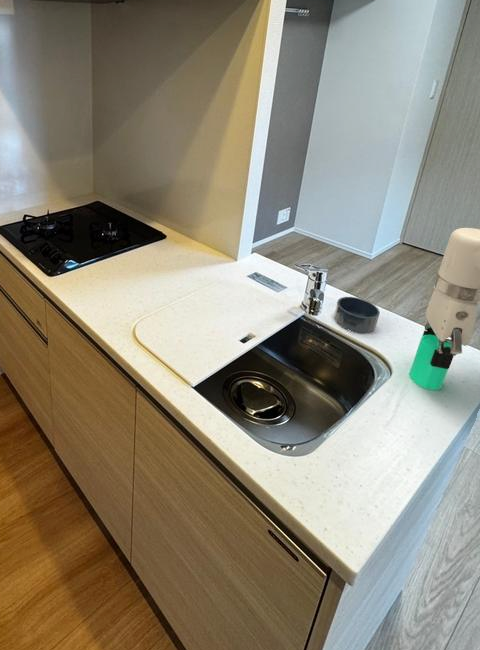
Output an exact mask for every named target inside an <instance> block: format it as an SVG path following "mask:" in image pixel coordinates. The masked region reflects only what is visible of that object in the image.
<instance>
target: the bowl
mask: <svg viewBox="0 0 480 650" xmlns="http://www.w3.org/2000/svg"><path fill="white" fill-rule="evenodd" d="M379 317H380V310H379V308H378V307H377V306H376V305H375V304H373V303H371V302H370V301H368V300H365V299H363V298H359V297H354V296H343V297H340V298H338V299H337V303H336V306H335V310H334V315H333V319H334V318H335V319H334V321H335V320H336V321H337V322H338V323H337V322H336V321H335V322H336V323H337V325H339V324H340V325H341V326H342V327H341V326H340V325H339V326H340V327H341V328H343V327H345V328H346V329H345V328H344V329H345V330H347V329H349V330H351V331H350V332H352V331H353V332H352V333H355V332H357V333H356V334H361V333H362V335H364V334H363V333H368V334H371V333H374V332H375V330H376V327H377V324H378V321H379ZM349 330H348V331H349Z"/></svg>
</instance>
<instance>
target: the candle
mask: <svg viewBox="0 0 480 650" xmlns="http://www.w3.org/2000/svg"><path fill="white" fill-rule="evenodd" d="M422 336H423V337H422ZM422 336H421V338H420V339H419V343H418V345H417V346H418V347H417V349H416V353H415V354H414V359H413V362H412V364H411V367H410V371H409V373H408V375H409V378H410V380H411V381H412V382H414V383H415V384H416V385H417V386H419V387H422V388H423V389H426V390H430V391H438V390H441V388H442V387H443V384H444V382H445V379H446V376H447V373H448V371H449V369H444V368H439V367H434V366H431V364H430V362H431V359H432V357H433V354H434V351H435V350H438V342H439V338H438V337H437V336H436V335H423V334H422ZM450 346H451V343H446V342H444V347H450Z"/></svg>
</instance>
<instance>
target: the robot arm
mask: <svg viewBox="0 0 480 650" xmlns="http://www.w3.org/2000/svg"><path fill="white" fill-rule="evenodd" d="M479 302H480V229H479V228H475V227H473V228H472V227H460V228H456V229H455V230H453V231H452V232H451V234H450V237H449V239H448V242H447V245H446V248H445V251H444V254H443V257H442V261H441V263H440V266H439V269H438V272H437V276H436V279H435V281H434V284H433V291H432V294H431V296H430V298H429V301H428V304H427V307H426V310H425V318H426V324H424V330H423V333H422V336H421V338H422V337H423V335H436V336H437V337H438V338H439V342H438V350H435V351H434V354H433V357H432V359H431V362H430V364H431V366H434V367H439V368H444V369H448V370H449V369H450V367H451V365H452V362H453V359H454V357H456V355H460V354H462V353H463V346H464V347H466V346H468V345H469V343H470V340H471V337H472V335H473V331H474V329H475V325H476V321H477V317H478V311H479ZM444 342H446V343H451V346H450V347H444Z"/></svg>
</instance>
